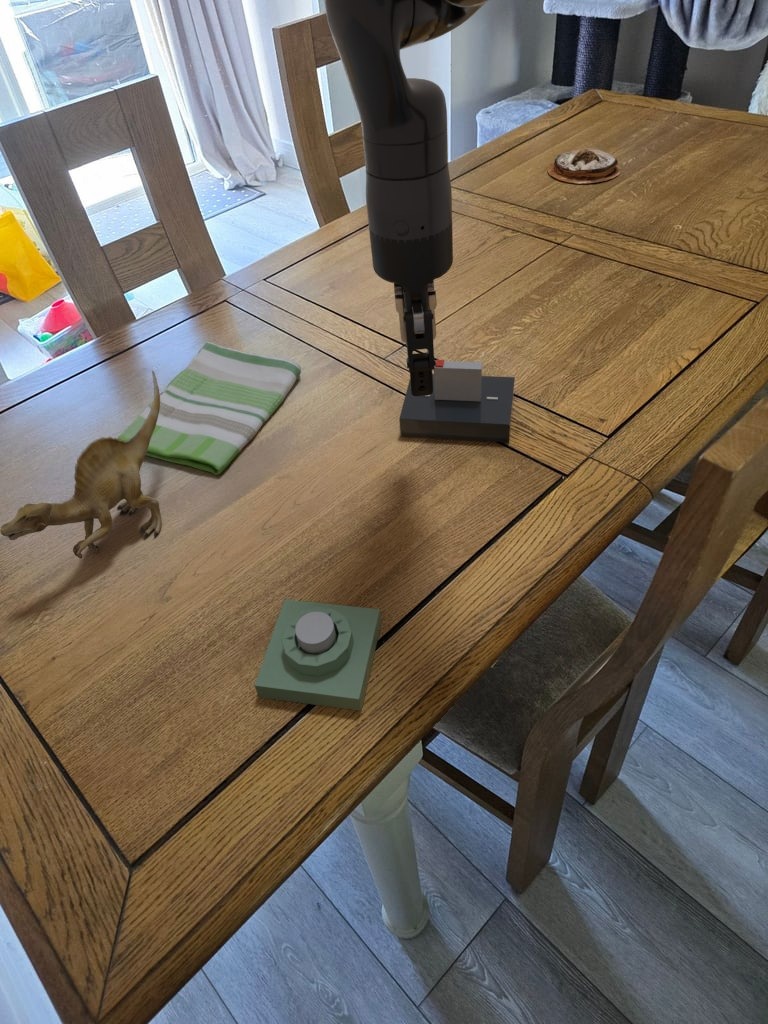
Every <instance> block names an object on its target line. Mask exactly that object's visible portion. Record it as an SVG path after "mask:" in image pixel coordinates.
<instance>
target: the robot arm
mask: <svg viewBox="0 0 768 1024" xmlns="http://www.w3.org/2000/svg"><path fill="white" fill-rule="evenodd" d="M323 1H324V9H325V15H326V20H327V24H328V27H329V30H330V34H331V36H332V39H333V42H334V45H335V47H336V51H337V53H338V56H339V58H340V61H341V64H342V67H343V70H344V72H345V75H346V78H347V82H348V85H349V87H350V88H349V89H350V90H351V94H352V97H353V100H354V103H355V105H356V108H357V112H358V115H359V118H360V125H361V136H362V137H361V138H362V147H363V156H364V166H365V167H364V168H365V203H366V212H367V221H368V222H367V223H368V232H369V243H370V250H371V262H372V268H373V271H374V273H375V274H376V275H377V276H378V277H379V278H380V279H382V280H383V281H385V282H388V283H391V284H393V291H394V301H395V302H394V303H395V311H396V313H397V314H398V319H399V332H400V340H401V342H402V343H404V344H405V345H406V355H407V357H406V358H405V360H406V361H405V362H406V369H408V372H409V381H410V382H411V393H412V395H413V396H426V395H431V394H432V393H433V377H432V374H433V371H434V369H435V366H436V360H435V349H434V340H435V339H436V337H437V323H436V308H437V306H438V303H437V302H438V301H437V291H436V289H435V280H436V279H440V278H442V277H443V276H445V274H447V273H448V272H449V270H451V268H452V266H453V262H454V243H453V241H454V240H453V239H454V238H453V193H452V192H453V191H452V182H451V175H450V169H449V144H448V143H449V141H448V138H449V137H448V110H447V102H446V96H445V93H444V91H443V89H442V88H441V87H440V85H439V84H437V83H435V82H434V81H432V80H429V79H424V78H415V77H407V75H406V74H405V70H404V67H403V64H402V61H401V60H402V59H401V51H402V50H405V49H408V48H411V47H414V46H418V45H420V44H425V43H427V42H430V41H432V40H436V39H438V38H441V37H442V36H444V35H446V34H448V33H450V32H451V31H453V30H455V29H458V27H460V26H461V25H463V24H464V23H466V21H468V20H469V19H470V18H472V17H473V16H474V15H475V14H476V13H477V12H478V11H479V10H480V9H481V8H482V7H484V6H485V5H486V3H487V2H490V0H323ZM418 350H426V352H418V353H414V351H418Z"/></svg>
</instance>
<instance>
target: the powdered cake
mask: <svg viewBox="0 0 768 1024" xmlns="http://www.w3.org/2000/svg"><path fill="white" fill-rule="evenodd" d="M621 172H622V167H621V166H620V165H619V164H618V160H617V158H616V157H615V156H614V155H612V154H611V153H609V152H607V151H605V150H603V149H600V148H596V147H586V148H584V147H583V148H579V149H574V150H571V151H567V152H561V153H560V154H559V155H556V157H555V159H554V161H553V162H551V163H550V164H549V165H548V166H547V173H548V174H549V176H550V177H553V178H554V179H556V180H559V181H561V182H562V181H563V182H565V183H572V184H594V183H596V184H597V183H600V182H601V183H602V182H606V181H608V180H613V179H615V178H616V177H617V176H619V175H621Z"/></svg>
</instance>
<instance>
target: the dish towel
mask: <svg viewBox="0 0 768 1024" xmlns="http://www.w3.org/2000/svg"><path fill="white" fill-rule="evenodd" d="M301 370H302V367H301V365H300V364H299V363H297V362H296V361H294V360H292V359H289V358H285V357H280V356H273V355H268V354H259V353H255V352H248V351H247V352H246V351H243V350H242V351H241V350H239V349H235V348H231V347H225V346H222V345H219V344H217V343H214V342H211V341H207V342H205V343H204V345H203V346H202V347H201V348H200V350H198V352H197V354H196V355H195V356H194V357H192V359H191V360H190V362H189V364H188V365H187V366H186V367H185V368H184V369H183V370H181V371H180V372H179V373H177V374H176V376H174V377H173V378H172V379H171V380H170V381H169V383H167V385H166V386H165V388H164V389H163V390H162V392H161V393H160V410H159V415H158V419H157V423H156V426H155V429H154V432H153V434H152V437H151V440H150V443H149V446H148V450H147V452H146V455H145V456H148V457H151V458H155V459H159V460H162V461H166V462H170V463H174V464H177V465H178V464H179V465H184V466H189V467H192V468H195V469H198V470H201V471H205V472H209V473H211V474H213V475H215V476H219V475H221V473H222V472H224V470H225V469H226V468H227V467H228V466H229V465H230V463H231V462H232V461H233V460H234V459H235V458H236V456H238V454H239V453H240V452H241V451H242V449H243V448H244V447H245V446H247V444H248V443H249V442H251V441H252V439H254V438H255V436H256V435H257V433H258V432H259V430H260V428H262V426H263V425H264V423H265V422H266V421H267V420H268V419H269V418H270V417H271V416H272V415H273V414H274V412H275V411H276V410H277V409H278V408H279V406H280V405H281V404H282V402H283V401H284V400H285V398H286V397H287V395H288V393H289V392H290V390H291V389H292V388H293V386H294V384H295V383H296V380H297V379H298V378H299V377H300V375H301V374H302V371H301ZM153 401H154V399H153V400H152V401H151V402H150V403H149V404H147V406H146V407H145V408H144V410H143V411H142V413H141V414H139V415H138V416H137V418H135V420H133V422H131V424H130V425H129V426H128V427H127V428H126V429H125V430H124V431H123V432H122V433H121V434H119V435H118V437H117V439H118V440H123V441H128V440H129V439H130V438H133V436H134V435H135V434H136V433H137V432H138V431H139V429H140V428H141V427H142V425H143V424H144V422H145V420H146V418H147V417H148V415H149V413H150V411H151V408H152V405H153Z"/></svg>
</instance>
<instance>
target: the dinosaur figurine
mask: <svg viewBox="0 0 768 1024" xmlns="http://www.w3.org/2000/svg"><path fill="white" fill-rule="evenodd" d="M151 376H152V383H153V400H154V401H153V400H152V401H153V405H152V408H151V411H150V413H149V415H148V417H147V418H146V420H145V422H144V424H143V425H142V427H141V428H140V429H139V431H138V432H137V433H136V434H135V435H134V436H133V438H130V439H129V440H128V441H123V440H118V437H112V436H107V437H104V436H101V437H99V438H96V439H94V440H93V441H91V442H90V443H88V445H87V446H86V447H85V448H84V449H83V450H82V451H81V452H80V454H79V455H78V456H77V458H76V463H75V465H74V475H73V479H74V481H75V483H74V491H73V496H72V497H71V498H69V499H67V500H66V501H63V502H57V503H56V502H55V503H54V502H40V503H26V504H24V505H23V506H20V507H19V508H18V510H17V513H16V515H15V516H14V517H13V518H12V519H11V520H10V521H8V522H6V523H4V524H3V525H1V526H0V534H1V536H3V537H7V538H8V539H9V541H15V540H18V538H21V537H24V536H26V535H29V534H35V533H40V532H43V531H45V530H46V528H47V527H51V526H64V525H69V524H76V523H83V522H84V533H85V536H84V539H82V540H79V541H78V542H77V543H76V544H75V545H73V547H72V552H73V554H74V556H75V557H77V558H78V559H83V554H82V552H84V550H85V549H86V548H87V547H88V549H89V550H90V551H91V552H93V553H97V552H99V551H100V548H99V545H98V544H96V545H95V544H94V543H96V542H98V541H100V540H103V539H104V538H105V537H107V536H108V535H110V534H111V533H112V531H113V525H112V524H113V518H112V514H111V510H112V509H113V508H115V507H116V506H117V507H116V510H120V509H121V510H120V511H119V514H118V515H119V516H122V515H123V514H126V513H127V516H131V515H132V514H133V513H134V512H135V511H136V509H138V508H148V509H149V510H150V518H149V519H148V520H147V521H146V522H144V523H143V524H142V525H141V526H140V528H139V530H138V533H142V532H144V534H143V536H142V538H143V539H145V538H147V537H148V536H149V535H150V534H151V533H152V532H153V531H154V533H153V537H154V538H156V537H157V535H158V534H160V531H161V528H162V524H163V522H162V514H161V510H160V509H161V508H160V503H159V501H158V499H157V498H155V497H151V496H149V495H147V494H143V491H142V479H141V473H140V471H141V468H142V465H143V463H144V461H145V457H146V456H147V455H146V452H147V450H148V446H149V443H150V440H151V437H152V434H153V432H154V429H155V426H156V423H157V419H158V415H159V410H160V394H161V393H160V388H159V384H158V380H157V379H158V378H157V376H156V373H155V370H151ZM123 500H125V501H123ZM121 501H123V502H121ZM120 502H121V503H120ZM119 503H120V504H119ZM95 519H96V520H98V522H99V524H100V527H99V528H97V529H96V530H95V531H94V525H95Z"/></svg>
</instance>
